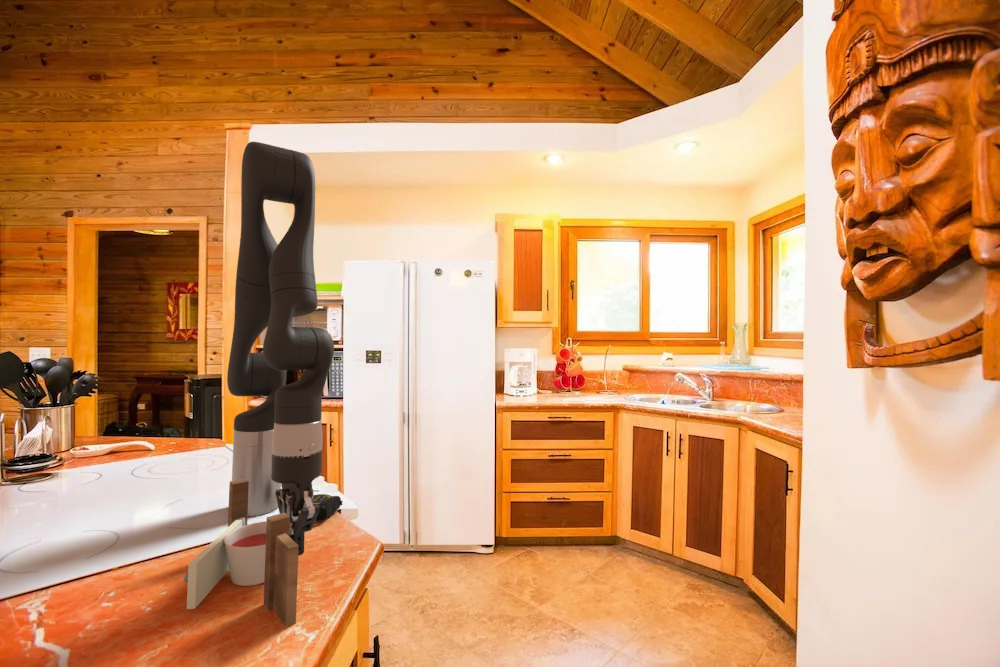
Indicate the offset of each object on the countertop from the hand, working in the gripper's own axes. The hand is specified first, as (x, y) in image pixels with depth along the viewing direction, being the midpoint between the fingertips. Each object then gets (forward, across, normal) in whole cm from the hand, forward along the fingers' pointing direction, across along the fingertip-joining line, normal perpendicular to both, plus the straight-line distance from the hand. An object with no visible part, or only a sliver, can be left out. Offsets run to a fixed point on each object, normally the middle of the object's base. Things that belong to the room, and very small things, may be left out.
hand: (295, 554), depth 70 cm
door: (+1, -3, -11) cm, 11 cm away
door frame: (+1, +2, -6) cm, 6 cm away
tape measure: (+2, -16, +11) cm, 19 cm away
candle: (+2, -1, -6) cm, 6 cm away
